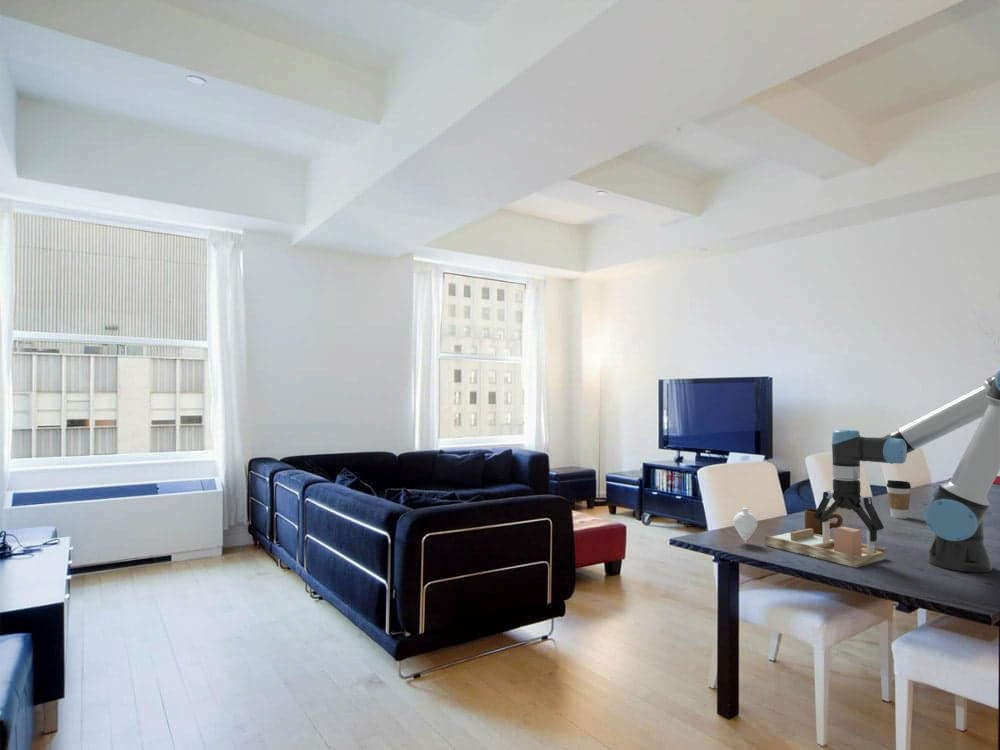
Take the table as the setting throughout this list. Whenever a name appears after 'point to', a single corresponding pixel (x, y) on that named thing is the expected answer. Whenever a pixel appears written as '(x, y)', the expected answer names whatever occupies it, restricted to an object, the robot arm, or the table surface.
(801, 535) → the lid
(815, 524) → the mug
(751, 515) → the spinning top
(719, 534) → the table surface
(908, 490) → the coffee cup
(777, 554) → the table surface
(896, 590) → the table surface
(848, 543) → the block
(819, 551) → the beige flat rectangular tray
